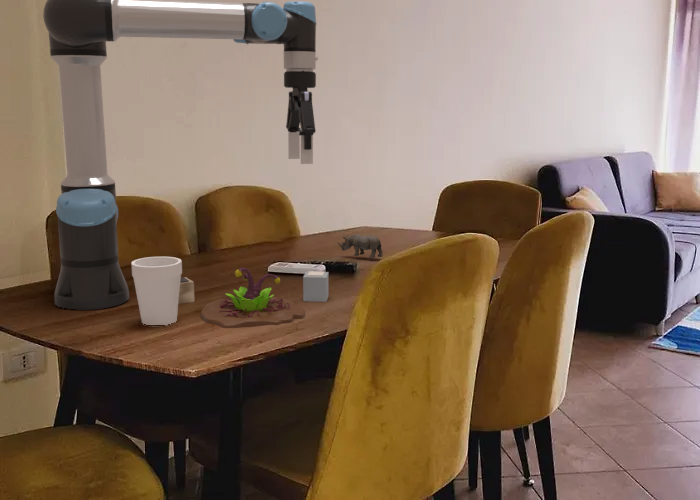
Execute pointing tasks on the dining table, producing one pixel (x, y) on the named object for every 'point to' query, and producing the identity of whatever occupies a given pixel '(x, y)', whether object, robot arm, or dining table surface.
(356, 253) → the rhino figurine
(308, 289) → the tile block
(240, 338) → the dining table surface
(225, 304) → the plant
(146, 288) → the foam cup
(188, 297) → the tile block
